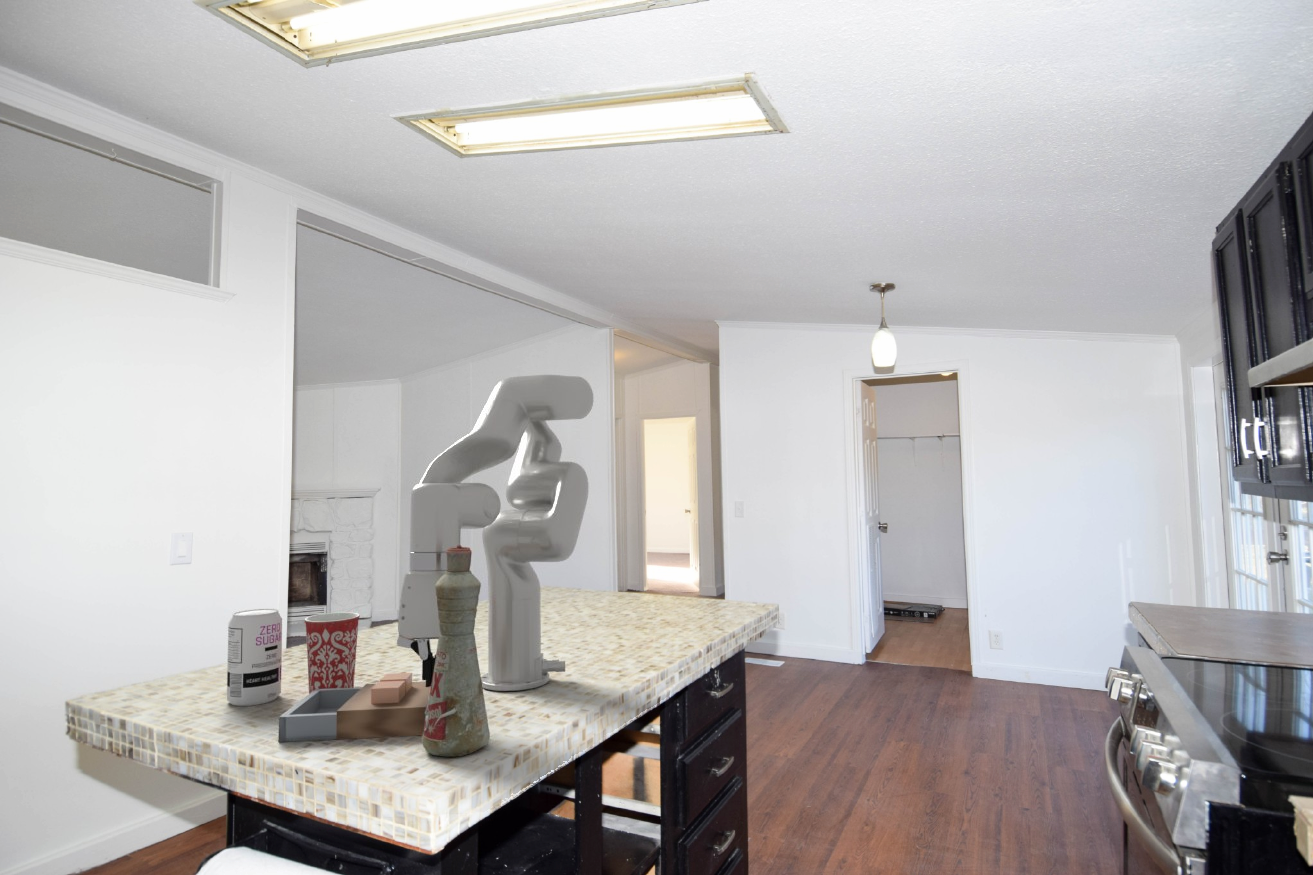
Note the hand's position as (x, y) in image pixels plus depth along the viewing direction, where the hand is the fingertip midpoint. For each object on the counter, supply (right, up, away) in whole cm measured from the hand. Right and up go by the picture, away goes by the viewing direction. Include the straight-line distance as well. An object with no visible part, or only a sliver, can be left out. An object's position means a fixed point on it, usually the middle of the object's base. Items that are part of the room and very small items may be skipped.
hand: (433, 684), depth 114 cm
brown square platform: (-6, -6, +2) cm, 9 cm away
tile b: (-7, -3, +5) cm, 9 cm away
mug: (-24, -8, +20) cm, 32 cm away
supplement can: (-35, -8, +15) cm, 39 cm away
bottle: (+6, -6, -11) cm, 14 cm away
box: (-17, -6, +1) cm, 18 cm away
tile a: (-7, -2, 0) cm, 7 cm away
